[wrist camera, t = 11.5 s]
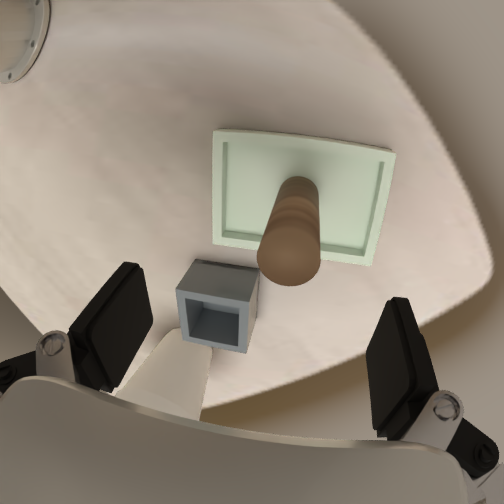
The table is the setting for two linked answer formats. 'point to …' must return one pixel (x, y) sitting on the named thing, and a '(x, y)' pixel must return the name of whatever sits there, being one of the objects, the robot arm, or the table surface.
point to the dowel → (292, 234)
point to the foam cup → (171, 377)
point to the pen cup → (218, 305)
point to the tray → (309, 166)
